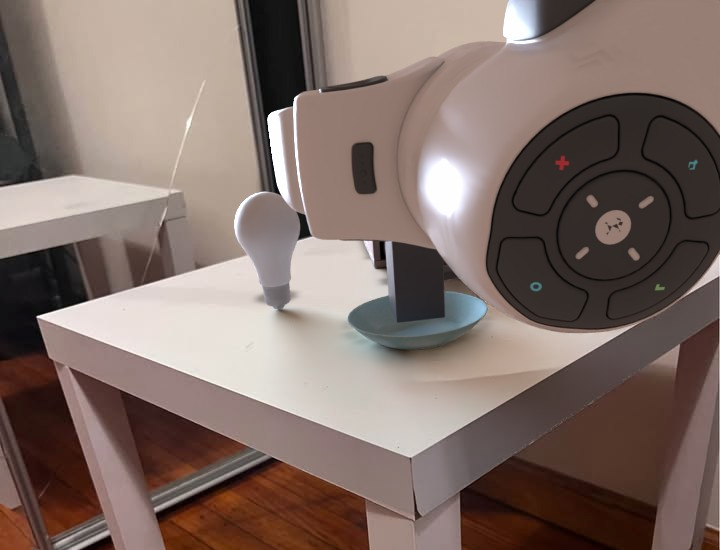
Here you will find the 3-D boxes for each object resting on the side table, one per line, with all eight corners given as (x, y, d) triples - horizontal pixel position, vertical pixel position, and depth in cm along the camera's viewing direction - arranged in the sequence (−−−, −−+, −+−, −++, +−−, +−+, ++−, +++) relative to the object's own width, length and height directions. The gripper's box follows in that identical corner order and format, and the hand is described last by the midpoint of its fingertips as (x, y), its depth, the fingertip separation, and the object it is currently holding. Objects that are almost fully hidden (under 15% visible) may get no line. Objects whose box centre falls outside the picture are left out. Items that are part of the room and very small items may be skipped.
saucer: (321, 346, 66) (318, 320, 65) (407, 306, 73) (406, 282, 72) (431, 373, 59) (430, 345, 58) (514, 326, 66) (514, 300, 65)
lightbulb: (295, 320, 72) (278, 198, 67) (237, 318, 74) (217, 200, 69) (319, 299, 77) (305, 184, 72) (264, 298, 79) (247, 186, 74)
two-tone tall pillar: (434, 299, 67) (429, 165, 61) (445, 317, 63) (440, 175, 57) (389, 304, 67) (379, 170, 61) (396, 323, 63) (387, 181, 57)
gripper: (714, 49, 34) (602, 43, 46) (259, 99, 34) (264, 80, 45) (695, 196, 38) (595, 155, 49) (280, 244, 37) (279, 191, 49)
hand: (433, 119), depth 47 cm, fingers open, 8 cm apart
